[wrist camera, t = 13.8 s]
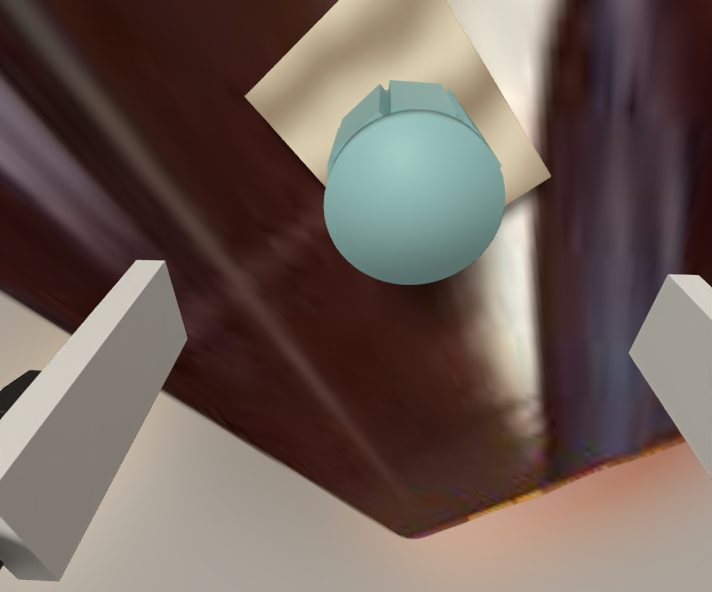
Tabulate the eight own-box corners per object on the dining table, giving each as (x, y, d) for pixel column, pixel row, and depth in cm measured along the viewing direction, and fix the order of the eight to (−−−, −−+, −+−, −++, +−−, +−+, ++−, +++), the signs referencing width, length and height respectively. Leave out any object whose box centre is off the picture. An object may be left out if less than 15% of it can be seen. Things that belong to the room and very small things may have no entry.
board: (252, 89, 28) (244, 96, 27) (404, -65, 24) (405, -68, 22) (400, 258, 35) (401, 272, 34) (542, 165, 30) (551, 176, 29)
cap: (395, 242, 28) (398, 310, 22) (309, 149, 24) (286, 201, 19) (503, 164, 24) (539, 220, 19) (419, 46, 21) (433, 70, 16)
